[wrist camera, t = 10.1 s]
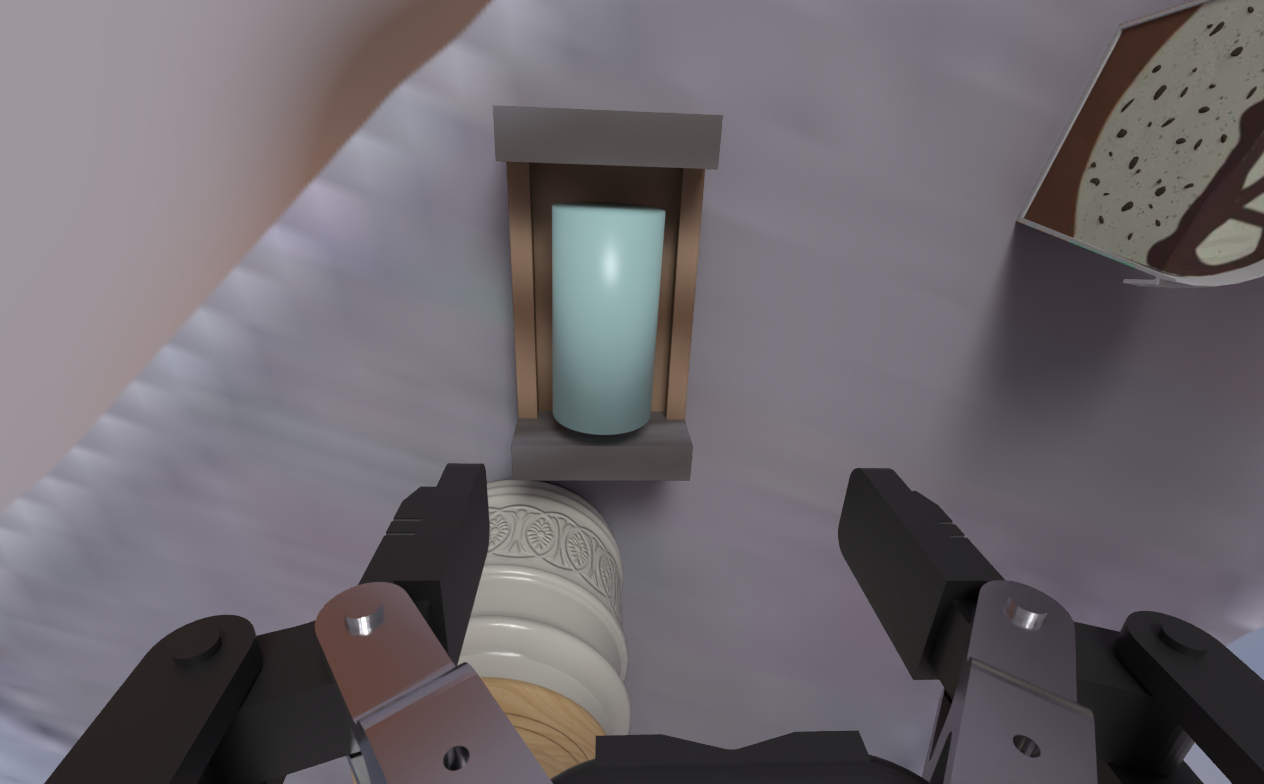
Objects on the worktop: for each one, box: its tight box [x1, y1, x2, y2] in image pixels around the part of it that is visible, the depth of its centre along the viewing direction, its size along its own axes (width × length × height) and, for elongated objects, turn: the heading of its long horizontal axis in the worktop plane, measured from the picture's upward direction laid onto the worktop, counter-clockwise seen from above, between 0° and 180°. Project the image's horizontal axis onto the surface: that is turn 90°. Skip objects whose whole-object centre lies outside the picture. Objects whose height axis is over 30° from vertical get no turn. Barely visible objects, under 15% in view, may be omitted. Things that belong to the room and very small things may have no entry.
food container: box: [1016, 0, 1264, 289], centre depth 25 cm, size 12×6×10 cm, turn 164°
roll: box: [552, 202, 666, 435], centre depth 28 cm, size 10×5×5 cm
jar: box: [351, 480, 631, 784], centre depth 30 cm, size 13×13×18 cm
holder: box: [493, 106, 723, 481], centre depth 29 cm, size 17×9×6 cm, turn 178°
